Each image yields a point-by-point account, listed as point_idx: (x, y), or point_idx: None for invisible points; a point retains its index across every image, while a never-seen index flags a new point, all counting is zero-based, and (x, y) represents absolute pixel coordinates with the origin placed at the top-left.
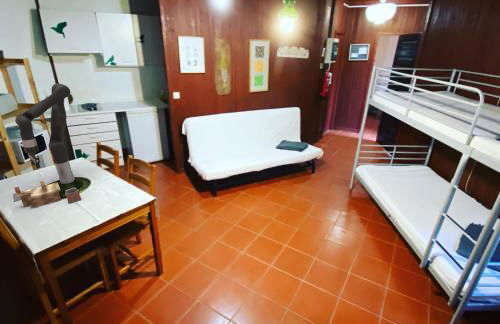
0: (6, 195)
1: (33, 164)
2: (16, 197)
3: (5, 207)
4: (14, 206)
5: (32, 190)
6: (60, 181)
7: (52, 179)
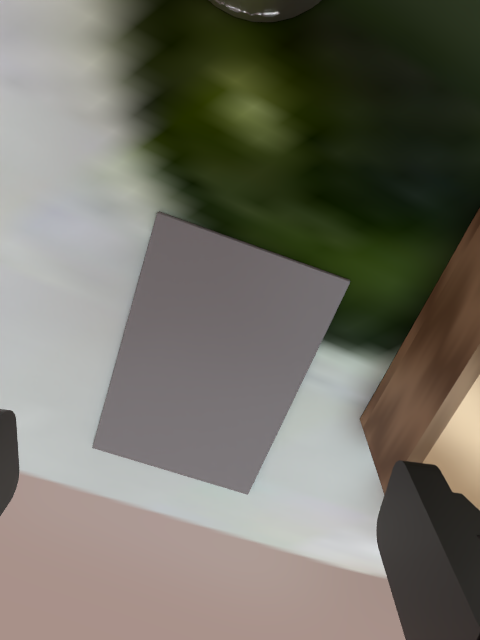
0: (68, 475)
1: (8, 482)
2: (193, 460)
3: (286, 546)
4: (334, 515)
5: (459, 488)
6: (253, 16)
7: (17, 31)
